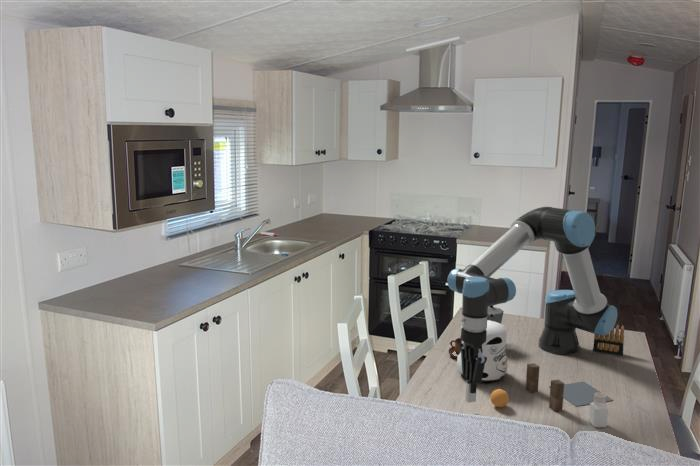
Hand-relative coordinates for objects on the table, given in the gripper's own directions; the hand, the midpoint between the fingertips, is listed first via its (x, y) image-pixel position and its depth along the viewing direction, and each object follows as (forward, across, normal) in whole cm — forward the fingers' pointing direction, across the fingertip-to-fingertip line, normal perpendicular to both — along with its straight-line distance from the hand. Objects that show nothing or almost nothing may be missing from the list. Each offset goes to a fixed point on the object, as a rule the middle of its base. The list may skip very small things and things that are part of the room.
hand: (470, 400), depth 174 cm
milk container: (+3, -22, +16) cm, 28 cm away
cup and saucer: (+4, -39, +18) cm, 43 cm away
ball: (+1, 0, +10) cm, 10 cm away
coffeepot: (+3, -46, +33) cm, 57 cm away
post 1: (+3, -6, +26) cm, 27 cm away
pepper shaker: (+3, +18, +32) cm, 37 cm away
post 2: (+3, +6, +26) cm, 27 cm away
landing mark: (+3, 0, +40) cm, 40 cm away
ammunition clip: (+3, -26, +73) cm, 78 cm away
